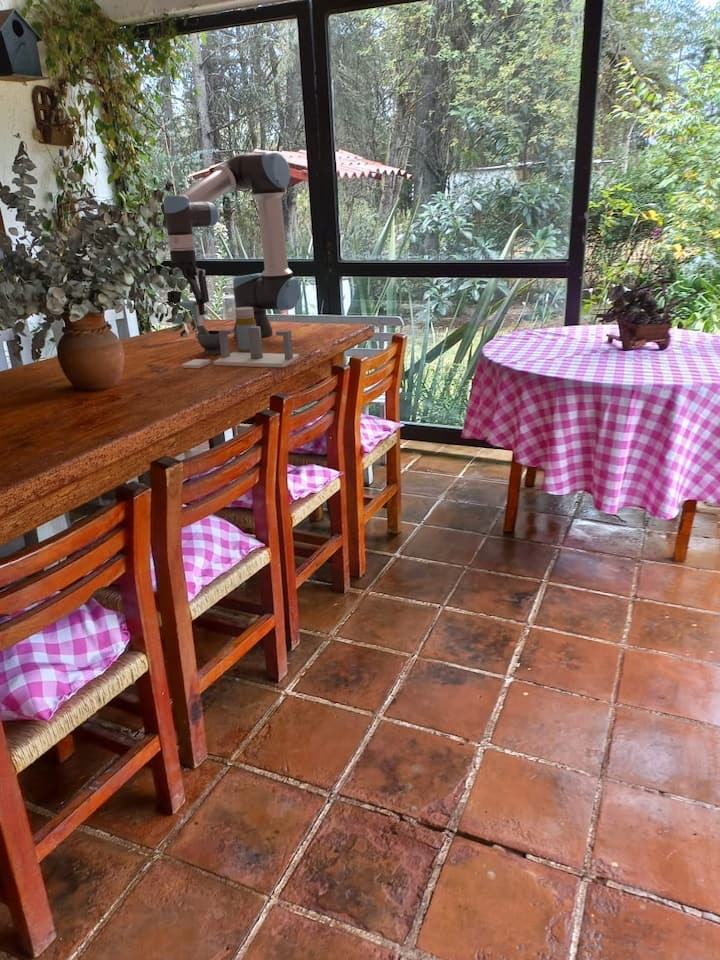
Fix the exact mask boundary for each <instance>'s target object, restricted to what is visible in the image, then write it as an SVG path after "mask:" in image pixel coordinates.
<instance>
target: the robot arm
mask: <svg viewBox="0 0 720 960" xmlns="http://www.w3.org/2000/svg"><path fill="white" fill-rule="evenodd" d="M290 180H291V170H290V165H289V162H288V161H287V159H286V158H285V156H284V155H283V154H282V153H281V152H279V151H271V150H266V151H258V152H257V151H255V152H243V153H239V154H237V155H235V156H233V157H230V158H228V159H227V160H225V161H224V162H221V163H220V164H219V165H217V166H215V167H214V169H213V170H212V173H210V174H209V175H207V176H206V177H204V178H202V179H200V180H199V181H198V182H196V183H195V184H193V185H192V186H190V187H189V188H187V189H185V190H183V191H182V192H180V193H178V195H166V196H164V198H163V202H161V203H162V205H161V209H162V212H163V214H164V221H163V225H162V229H163V228H164V229H166V231H167V239H168V248H169V249H171V250H170V252H169V254H170V262H171V268H175V267H178V268H180V269H181V270H182V273H183V275H184V277H185V278H186V279H187V281H186V282H187V283H188V284H189V286H190V288H191V289H190V290H191V291H192V293H193V296H194V299H195V301H197V305H195V307H196V316H197V324H198V326H201V325H203V326H204V325H205V322H204V316H205V315H204V314H205V310H206V309H205V304H206V303H208V302H210V297H209V290H208V285H207V279H206V276H207V275H206V274H207V269H202V268H198V266H197V263H196V262H197V257H196V256H197V255H196V251H195V249H193V248H195V241H194V231H193V229H194V228H195V229H196V228H198V229H199V228H210V227H213V226H215V225H216V224H217V222H218V220H219V210H218V208H217V206H216V205H215V204H214V203H213V202H215V201H216V200H217V199H218V198H219V199H220V198H221V196H223V195H225V194H232V193H234V192H235V191H241V190H247V189H248V190H251V194H252V196H253V197H254V198H255V199H256V200H257V208H258V209H257V210H258V218H259V227H260V238H261V246H262V254H263V255H262V256H263V267H264V270H262V272H259V273H252V274H246V275H240V276H236V277H234V279H233V281H232V283H233V285H232V286H233V288H232V291H233V297H234V298H233V299H234V305H235V309H236V308H239V307H253V310H254V318H255V321H256V326H260V329H261V339H262V338H267V337H271V336H273V334H274V333H273V328H272V325H271V322H270V320H269V317H268V316H267V310H274V311H275V310H277V311H281V312H282V311H290V310H292V309H294V308H295V307H296V306H297V305H298V303H299V301H300V297H301V292H302V291H301V284H300V281H299V280H298V279H297V278H295V277H294V273H293V271H292V269H290V268H289V265H288V253H287V245H286V244H287V243H286V234H285V233H286V231H285V224H284V222H285V221H284V212H283V203H282V198H283V196H284V195H285V194H286V187H287V186H289V184H290ZM196 275H197V277H198V279H197V277H196ZM182 292H183V291H182ZM182 292H177V291H175V290H174V291H171V292H168V293H167V292H166V295H167V296H166V297H167V302H168V301H169V302H168V303H171V302H172V303H171V304H173V303H174V304H175V303H178V302H182V301H181V300H182ZM174 304H173V305H174ZM235 322H236V320H235ZM182 323H183V322H182ZM182 323H179V324H178V326H179V325H181V324H182ZM233 329H234V333H233V337H234V338H236V339H237V333H236V323H234V328H233Z"/></svg>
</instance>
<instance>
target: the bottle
mask: <svg viewBox="0 0 720 960" xmlns="http://www.w3.org/2000/svg"><path fill="white" fill-rule="evenodd" d="M235 321H236V322H235V323H236V333H237V338H236V342H237V350H238V351H237V352H241V353H250V344H249V334H248V327H251V326H256V321H255V318H254V310H253V307H239V308H236V307H235ZM235 323H234V324H235Z"/></svg>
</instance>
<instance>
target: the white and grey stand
mask: <svg viewBox="0 0 720 960" xmlns="http://www.w3.org/2000/svg"><path fill="white" fill-rule="evenodd" d="M218 330H219V340H220V349H221V353H220V355H221V356H220V357H219V358H218V359H216V360H214V361H213V366H228V367H230V366H232V367H254V368H255V367H257V368H258V367H259V368H261V367H262V368H284V367H286V366H288V365H290V364H292V363H293V362H295V361H296V360H298V359H300V354H299V353H293V342H292V341H293V340H292V330H290V329H278V330H276V331H275V335H276V336H282V338H283V353H274V352H273V353H269V352H268V353H267V352H263V343H262V338H261V329H260V326H251V327H248V334H249V344H250V353H240V352H239V351H237V352H236V351H233V352H231V353H230V346H229V345H230V344H229V336H228V335H232V334H234V328H221V329H218Z"/></svg>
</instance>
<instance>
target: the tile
mask: <svg viewBox="0 0 720 960" xmlns="http://www.w3.org/2000/svg"><path fill="white" fill-rule="evenodd" d="M211 361H212V360H211V359H202V358H201V359H197V358H195V359H194V358H193V359H192V360H189V361H187V362H185V363H182V364H181V367H182V369H183V368H185V369H201V368H202V367H205V366H207V365H209V364H211V363H212V362H211Z"/></svg>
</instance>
